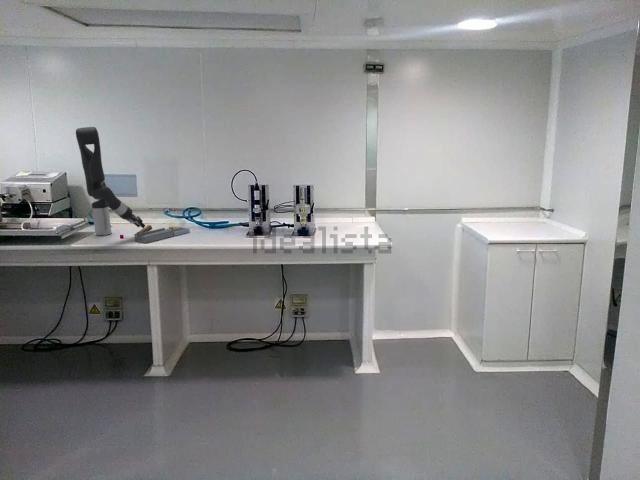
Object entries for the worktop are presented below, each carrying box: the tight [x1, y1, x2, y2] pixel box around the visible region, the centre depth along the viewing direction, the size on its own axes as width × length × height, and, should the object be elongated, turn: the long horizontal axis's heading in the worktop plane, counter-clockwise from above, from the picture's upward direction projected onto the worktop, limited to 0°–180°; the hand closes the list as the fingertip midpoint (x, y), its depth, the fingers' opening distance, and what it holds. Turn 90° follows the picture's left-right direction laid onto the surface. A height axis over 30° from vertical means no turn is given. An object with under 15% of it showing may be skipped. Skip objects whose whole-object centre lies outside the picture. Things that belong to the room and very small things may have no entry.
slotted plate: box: [134, 227, 174, 244], centre depth 295 cm, size 20×10×4 cm, turn 146°
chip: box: [168, 225, 177, 232], centre depth 305 cm, size 4×4×3 cm
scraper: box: [133, 224, 153, 236], centre depth 301 cm, size 2×4×11 cm
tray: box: [165, 226, 190, 237], centre depth 308 cm, size 12×11×2 cm
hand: (141, 226), depth 300 cm, fingers open, 4 cm apart
